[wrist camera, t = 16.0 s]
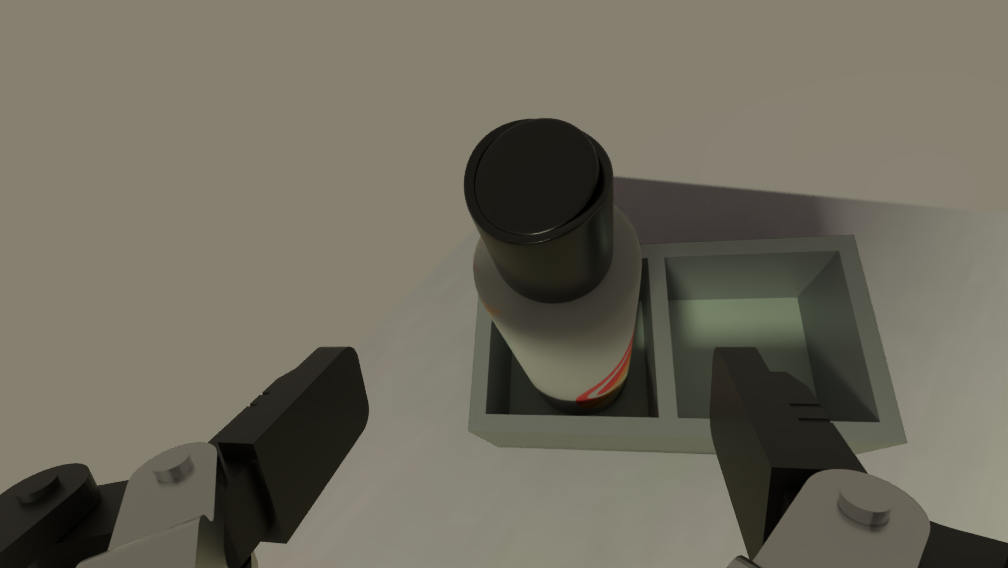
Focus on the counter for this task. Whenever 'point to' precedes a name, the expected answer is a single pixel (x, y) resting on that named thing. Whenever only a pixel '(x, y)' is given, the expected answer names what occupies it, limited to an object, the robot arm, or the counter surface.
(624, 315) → the lotion bottle
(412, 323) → the counter surface
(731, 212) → the counter surface
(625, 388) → the box
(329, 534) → the counter surface
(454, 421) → the counter surface
